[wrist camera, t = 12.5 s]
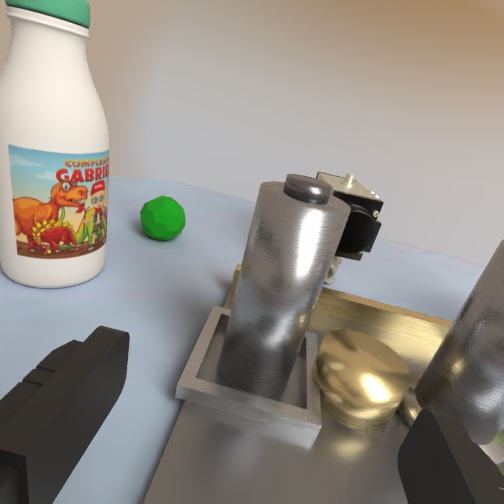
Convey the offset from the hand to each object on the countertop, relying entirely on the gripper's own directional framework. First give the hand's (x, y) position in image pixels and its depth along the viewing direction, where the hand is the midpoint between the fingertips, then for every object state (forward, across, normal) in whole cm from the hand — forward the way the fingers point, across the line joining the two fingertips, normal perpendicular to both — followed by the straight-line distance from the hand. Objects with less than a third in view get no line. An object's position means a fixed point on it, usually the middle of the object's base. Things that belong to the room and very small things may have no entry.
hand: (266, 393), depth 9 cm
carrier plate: (+11, -7, +9) cm, 16 cm away
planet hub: (+11, 0, +8) cm, 14 cm away
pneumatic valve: (+29, -6, +9) cm, 31 cm away
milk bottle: (+17, +18, +9) cm, 27 cm away
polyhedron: (+28, +13, +9) cm, 32 cm away
